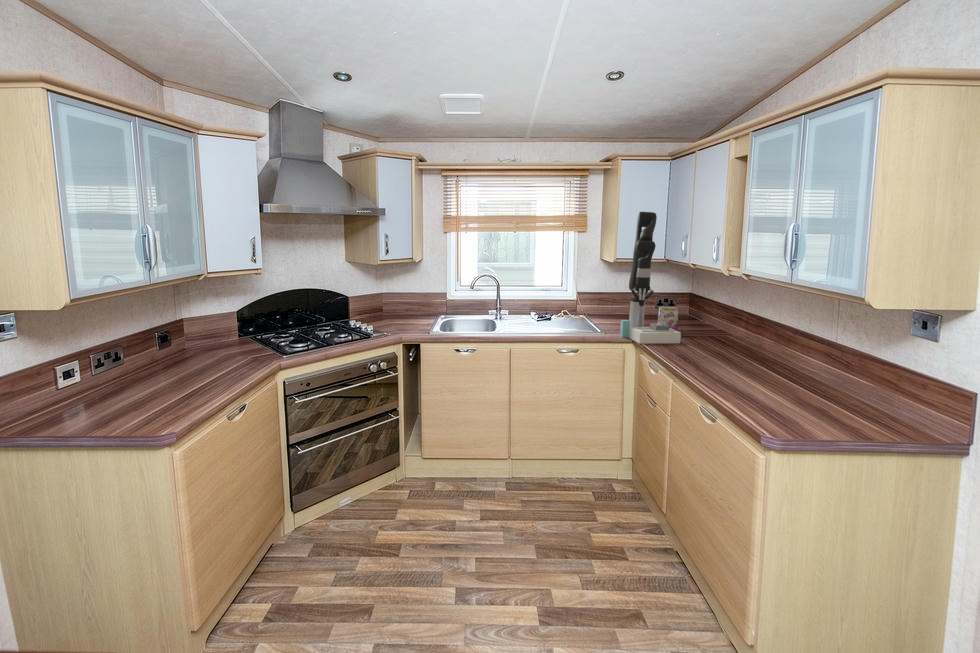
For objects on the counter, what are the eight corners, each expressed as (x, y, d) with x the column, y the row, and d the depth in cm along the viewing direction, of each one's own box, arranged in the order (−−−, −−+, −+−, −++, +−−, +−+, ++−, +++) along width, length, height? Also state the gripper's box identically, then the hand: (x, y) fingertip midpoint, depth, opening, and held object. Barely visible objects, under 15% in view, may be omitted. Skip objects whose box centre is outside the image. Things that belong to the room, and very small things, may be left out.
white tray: (628, 337, 306) (629, 326, 305) (667, 337, 309) (668, 326, 308) (639, 343, 291) (640, 331, 290) (680, 343, 293) (681, 331, 292)
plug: (619, 336, 310) (620, 319, 308) (626, 336, 310) (627, 319, 309) (622, 337, 306) (623, 321, 304) (628, 337, 306) (629, 321, 305)
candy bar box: (658, 334, 319) (660, 307, 316) (656, 332, 324) (658, 306, 321) (677, 334, 318) (679, 308, 315) (675, 333, 323) (677, 307, 320)
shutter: (650, 328, 303) (650, 321, 302) (663, 328, 303) (663, 321, 303) (655, 331, 295) (656, 324, 294) (669, 330, 296) (669, 324, 295)
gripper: (655, 276, 297) (653, 306, 300) (631, 275, 301) (629, 304, 304) (655, 277, 290) (653, 308, 293) (631, 276, 294) (629, 306, 297)
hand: (641, 306), depth 299 cm, fingers closed
